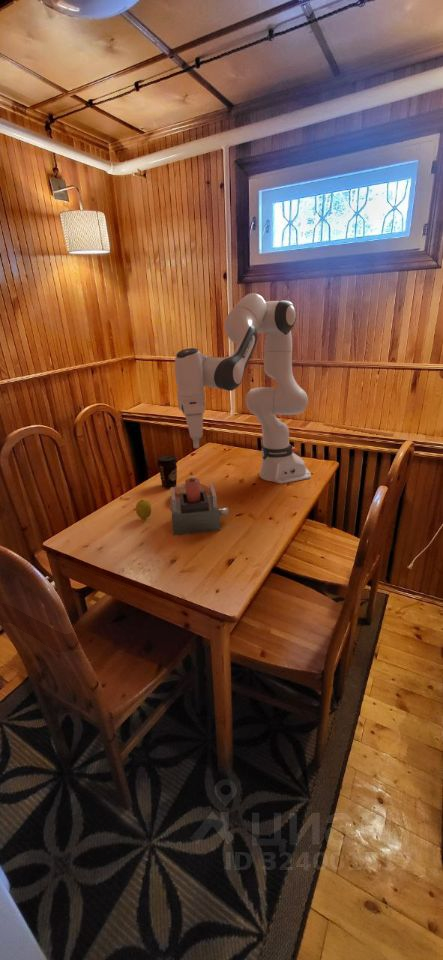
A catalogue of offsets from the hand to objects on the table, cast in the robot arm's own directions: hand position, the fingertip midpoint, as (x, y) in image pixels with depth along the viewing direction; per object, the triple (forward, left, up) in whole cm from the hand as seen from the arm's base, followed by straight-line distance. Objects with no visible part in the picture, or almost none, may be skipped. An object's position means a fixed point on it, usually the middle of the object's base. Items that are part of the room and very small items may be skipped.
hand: (195, 442), depth 137 cm
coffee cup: (+10, -32, -29) cm, 45 cm away
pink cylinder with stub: (+3, +4, -21) cm, 22 cm away
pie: (+2, -17, -29) cm, 34 cm away
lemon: (+20, -4, -29) cm, 36 cm away
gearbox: (0, +4, -29) cm, 29 cm away
